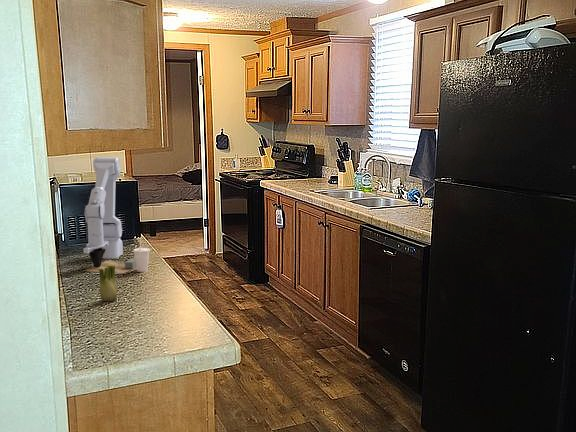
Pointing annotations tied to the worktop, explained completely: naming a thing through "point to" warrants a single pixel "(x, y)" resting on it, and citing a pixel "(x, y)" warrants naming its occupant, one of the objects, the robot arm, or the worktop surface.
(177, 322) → the worktop surface
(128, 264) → the block
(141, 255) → the smoothie
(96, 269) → the board
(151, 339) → the worktop surface
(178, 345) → the worktop surface
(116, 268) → the laid strip
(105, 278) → the fennel bulb
